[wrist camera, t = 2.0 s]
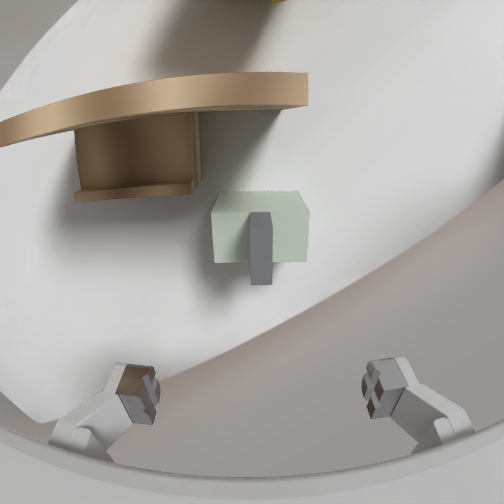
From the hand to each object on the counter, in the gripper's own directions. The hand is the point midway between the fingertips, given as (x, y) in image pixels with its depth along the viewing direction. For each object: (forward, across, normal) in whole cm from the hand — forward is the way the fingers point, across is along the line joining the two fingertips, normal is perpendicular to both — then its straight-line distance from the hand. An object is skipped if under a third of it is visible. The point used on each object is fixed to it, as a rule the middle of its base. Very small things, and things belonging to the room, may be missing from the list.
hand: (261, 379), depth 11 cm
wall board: (+19, +7, -7) cm, 21 cm away
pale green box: (+19, 0, 0) cm, 19 cm away
